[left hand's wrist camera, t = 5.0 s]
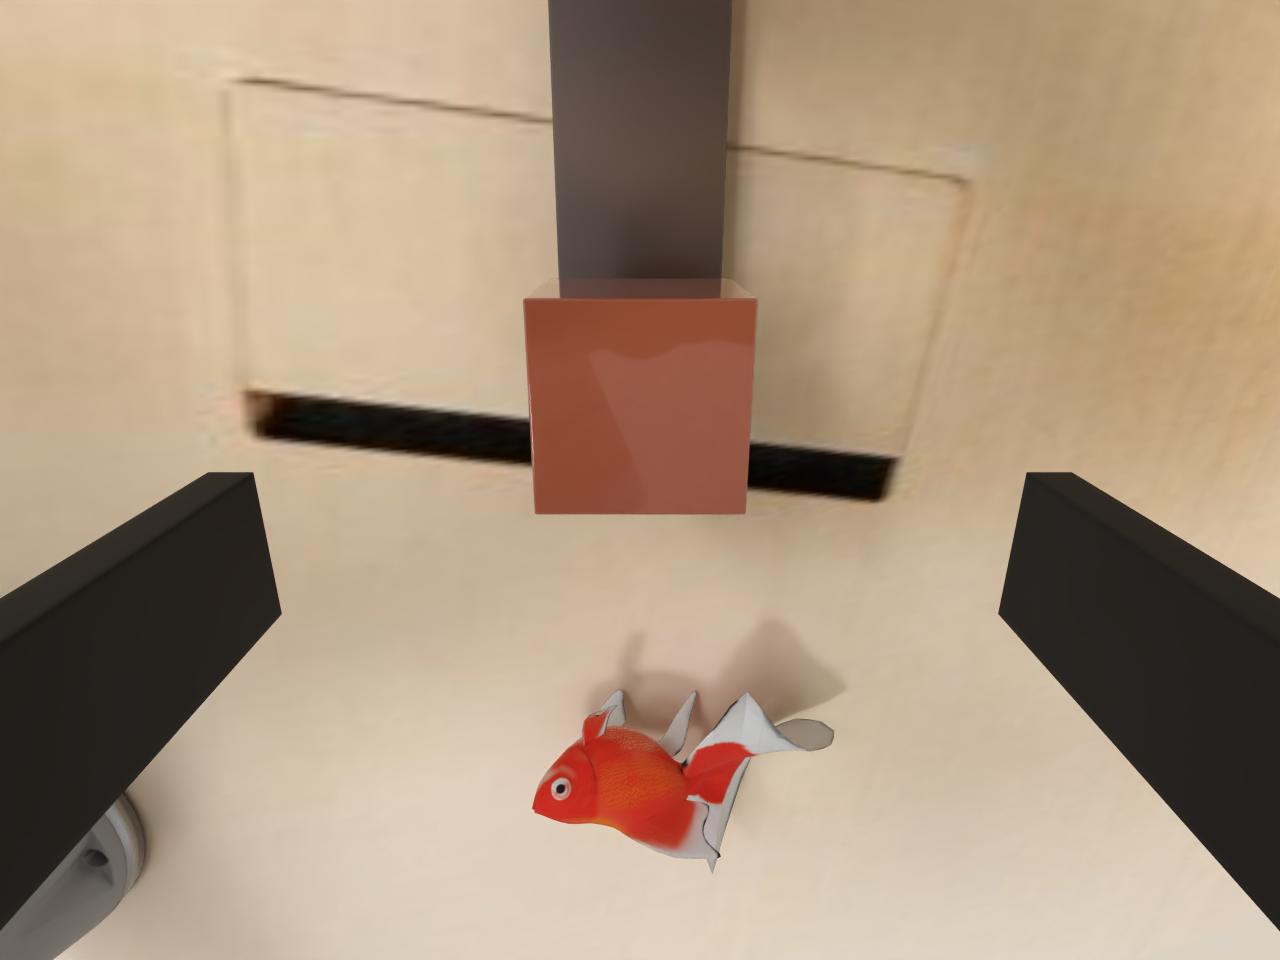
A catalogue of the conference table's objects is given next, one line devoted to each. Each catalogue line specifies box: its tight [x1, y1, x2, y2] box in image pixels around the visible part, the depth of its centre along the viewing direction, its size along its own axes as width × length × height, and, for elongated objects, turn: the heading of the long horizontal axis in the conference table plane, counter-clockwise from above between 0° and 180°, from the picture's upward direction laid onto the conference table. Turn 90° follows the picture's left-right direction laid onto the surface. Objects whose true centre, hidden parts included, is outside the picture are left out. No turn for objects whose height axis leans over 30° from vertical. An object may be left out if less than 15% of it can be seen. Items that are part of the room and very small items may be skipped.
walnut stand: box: [548, 0, 732, 279], centre depth 26 cm, size 28×7×9 cm, turn 0°
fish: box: [532, 690, 834, 874], centre depth 37 cm, size 11×16×10 cm
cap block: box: [523, 279, 758, 514], centre depth 23 cm, size 6×6×6 cm
